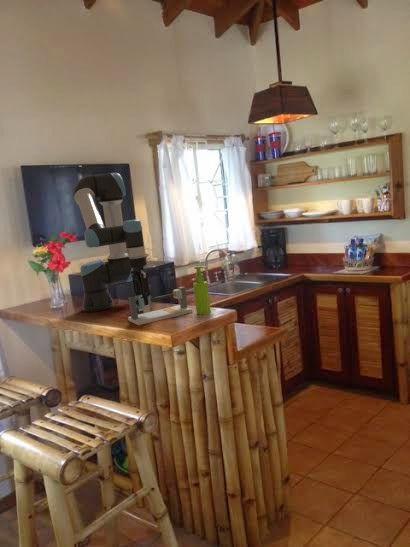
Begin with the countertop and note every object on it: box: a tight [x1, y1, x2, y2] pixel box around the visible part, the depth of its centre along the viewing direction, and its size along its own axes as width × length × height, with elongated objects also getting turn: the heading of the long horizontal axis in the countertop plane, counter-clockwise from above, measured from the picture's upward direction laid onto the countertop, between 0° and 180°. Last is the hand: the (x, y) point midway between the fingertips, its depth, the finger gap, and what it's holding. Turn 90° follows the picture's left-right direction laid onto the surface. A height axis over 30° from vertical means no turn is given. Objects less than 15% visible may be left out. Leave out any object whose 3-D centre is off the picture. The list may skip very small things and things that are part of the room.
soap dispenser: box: [192, 265, 212, 315], centre depth 211 cm, size 6×7×20 cm
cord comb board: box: [127, 286, 193, 326], centre depth 215 cm, size 12×25×10 cm, turn 118°
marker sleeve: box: [134, 295, 152, 309], centre depth 212 cm, size 5×5×5 cm
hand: (144, 311), depth 212 cm, fingers closed on marker sleeve, 5 cm apart
